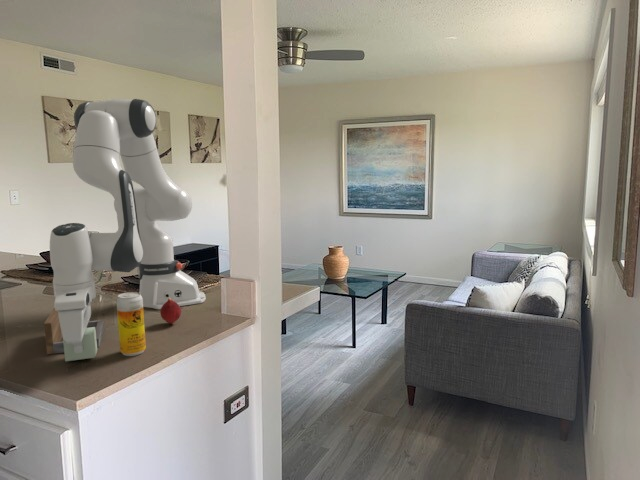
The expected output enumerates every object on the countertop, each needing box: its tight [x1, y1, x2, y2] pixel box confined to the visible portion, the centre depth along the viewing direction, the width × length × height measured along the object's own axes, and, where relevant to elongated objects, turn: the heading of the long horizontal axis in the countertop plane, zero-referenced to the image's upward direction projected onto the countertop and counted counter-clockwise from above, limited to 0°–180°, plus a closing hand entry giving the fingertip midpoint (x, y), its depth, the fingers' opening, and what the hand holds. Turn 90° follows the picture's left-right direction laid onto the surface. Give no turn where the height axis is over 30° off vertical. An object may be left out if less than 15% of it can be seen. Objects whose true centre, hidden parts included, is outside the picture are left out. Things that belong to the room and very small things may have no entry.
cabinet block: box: [62, 327, 98, 362], centre depth 118 cm, size 6×5×8 cm
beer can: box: [115, 291, 147, 357], centre depth 122 cm, size 6×6×15 cm
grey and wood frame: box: [43, 307, 105, 355], centre depth 131 cm, size 12×16×8 cm
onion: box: [160, 298, 182, 325], centre depth 143 cm, size 6×6×8 cm
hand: (80, 346), depth 118 cm, fingers closed on cabinet block, 5 cm apart
